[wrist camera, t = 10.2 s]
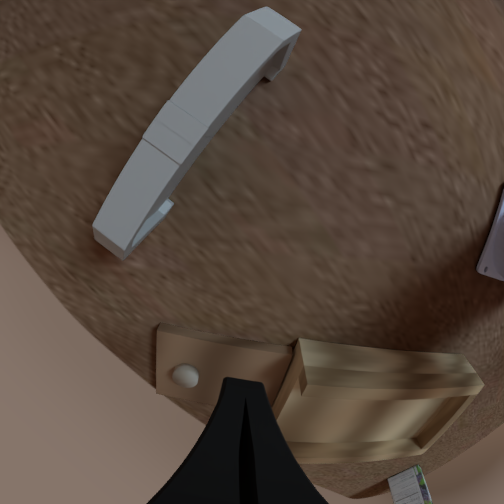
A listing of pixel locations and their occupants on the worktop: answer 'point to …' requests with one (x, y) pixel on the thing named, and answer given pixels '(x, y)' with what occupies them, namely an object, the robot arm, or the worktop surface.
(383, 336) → the worktop surface
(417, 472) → the syrup box
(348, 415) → the oak box
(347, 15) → the worktop surface
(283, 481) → the robot arm
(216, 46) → the arched grey pull
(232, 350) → the lid plate
